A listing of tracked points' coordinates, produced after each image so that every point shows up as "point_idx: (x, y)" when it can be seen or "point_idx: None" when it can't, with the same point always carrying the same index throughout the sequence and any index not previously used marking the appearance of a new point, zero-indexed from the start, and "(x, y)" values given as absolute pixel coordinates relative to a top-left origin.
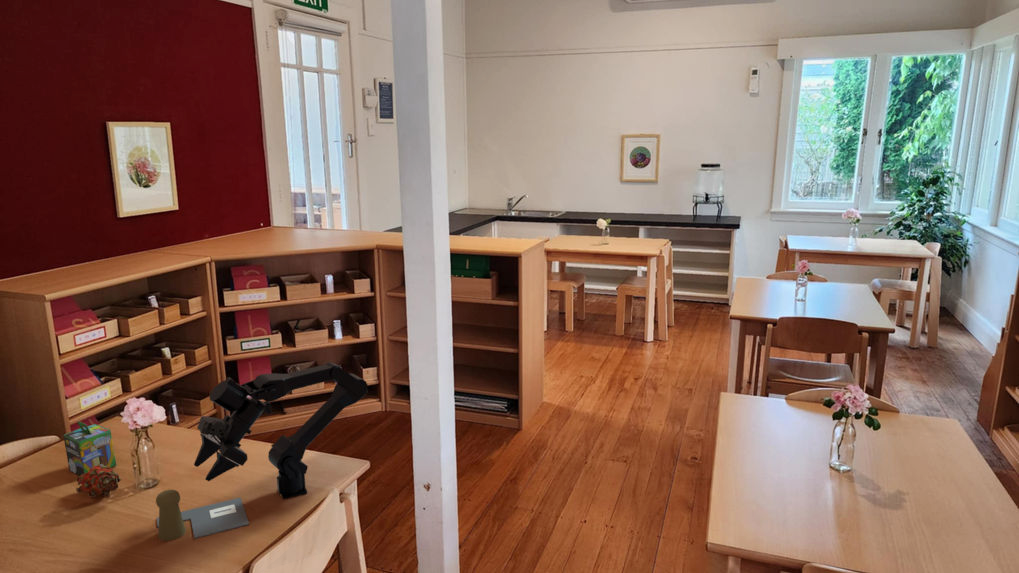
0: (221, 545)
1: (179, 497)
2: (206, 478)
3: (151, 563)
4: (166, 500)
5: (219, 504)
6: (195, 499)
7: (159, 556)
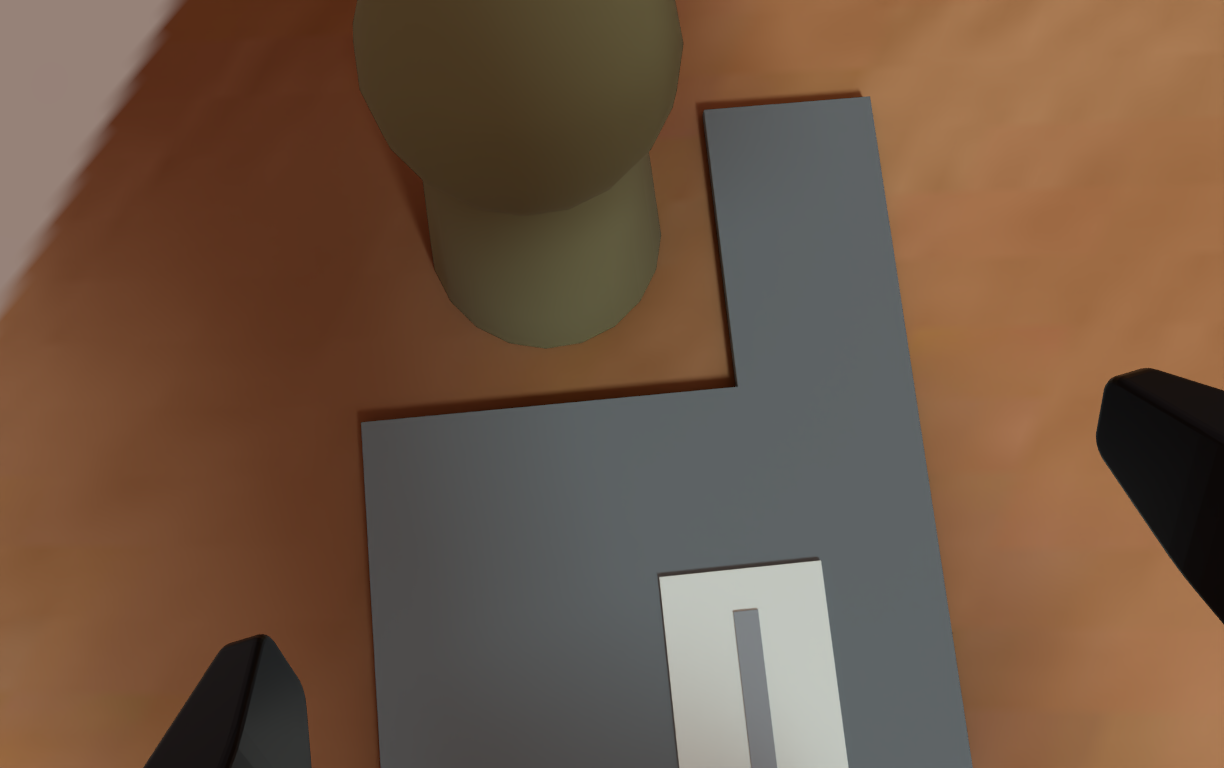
0: (131, 667)
1: (478, 195)
2: (212, 669)
3: (136, 95)
4: (357, 5)
5: (914, 662)
6: None
7: (214, 149)
